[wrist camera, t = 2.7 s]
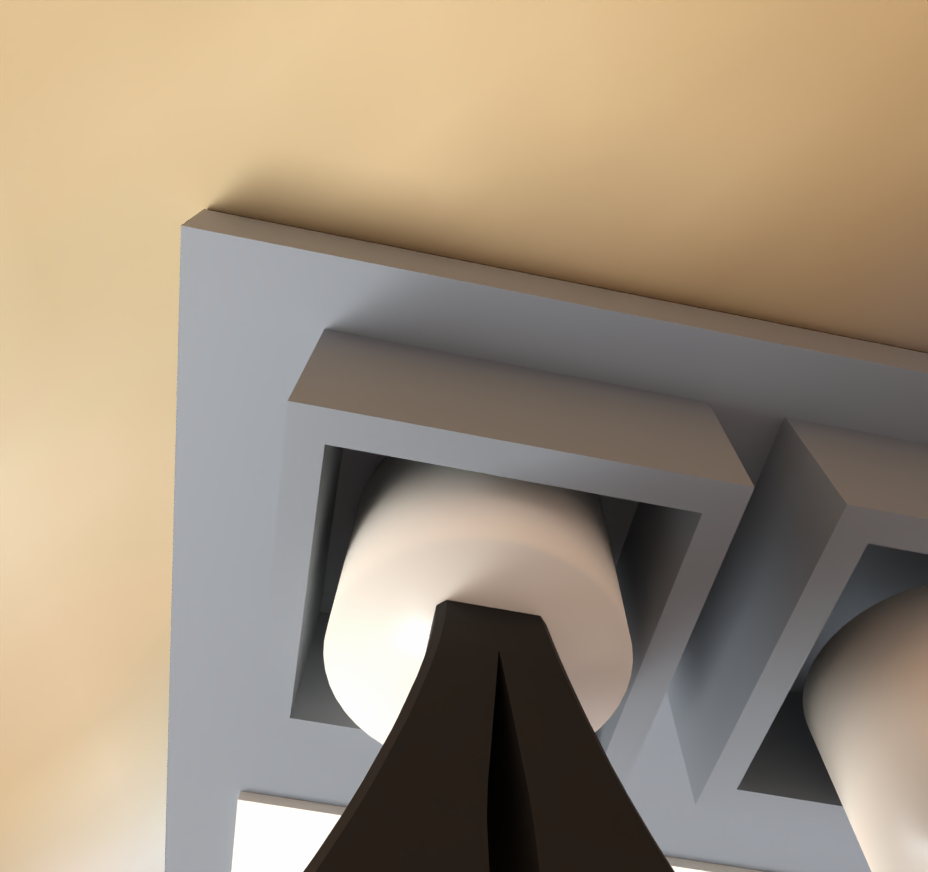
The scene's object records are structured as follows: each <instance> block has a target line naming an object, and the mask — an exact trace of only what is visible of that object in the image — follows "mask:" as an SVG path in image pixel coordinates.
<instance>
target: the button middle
mask: <svg viewBox="0 0 928 872" xmlns="http://www.w3.org/2000/svg"><path fill="white" fill-rule="evenodd" d="M803 711H804V716H805V719H806V722H807V725H808V728H809V730H810V732H811V735H812V737H813V739H814V741H815V744H816V746H817V748H818V751H819V753H820V755H821V757H822V760H823V762H824V764H825V767H826V769H827V771H828V773H829V776H830V778H831V780H832V783H833V785H834V787H835V789H836V792H837V794H838V796H839V799H840V801H841V803H842V805H843V808H844V810H845V812H846V815H847V817H848V819H849V821H850V824H851V826H852V828H853V831H854V833H855V835H856V837H857V840H858V842H859V844H860V847H861V849H862V851H863V853H864V856H865V858H866V860H867V863H868V865H869V867H870V869H871V872H928V584H926V585H922V586H919V587H915V588H912V589H909V590H906V591H904V592H901V593H898V594H896V595H893V596H891V597H889V598H887V599H885V600H883V601H881V602H879V603H877V604H875V605H873V606H872V607H870V608H868V609H867V610H865V611H863V612H862V613H860V614H859V615H857V616H856V617H855V618H853V619H852V620H851V621H849V622H848V623H847V624H845V625H844V626H843V627H842V628H841V629H840V630H839V631H838V632H837V633H836V634H835V635H834V636H833V637H831V639H830V640H829V641H828V642H827V643H826V645H825V646H824V647H823V648H822V649H821V651H820V652H819V654H818V656H817V657H816V659H815V660H814V662H813V664H812V666H811V668H810V670H809V673H808V675H807V678H806V682H805V685H804V690H803Z"/></svg>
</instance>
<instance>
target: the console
mask: <svg viewBox="0 0 928 872" xmlns="http://www.w3.org/2000/svg"><path fill="white" fill-rule="evenodd" d="M388 456H391V457H397V458H402V459H408V460H413V461H419V462H424V463H430V464H435V465H441V466H446V467H452V468H457V469H463V470H468V471H474V472H479V473H484V474H490V475H495V476H501V477H506V478H512V479H517V480H523V481H528V482H534V483H539V484H545V485H550V486H556V487H561V488H567V489H572V490H578V491H583V492H589V493H594V494H598V496H599V498H600V501H601V506H602V510H603V514H604V519H605V524H606V528H607V533H608V537H609V542H610V546H611V551H612V556H613V560H614V565H615V569H616V574H617V578H618V583H619V588H620V592H621V597H622V601H623V606H624V610H625V615H626V620H627V624H628V629H629V633H630V638H631V642H632V653H633V664H632V672H631V677H630V681H629V684H628V687H627V690H626V692H625V694H624V696H623V698H622V700H621V702H620V704H619V706H618V707H617V709H616V710H615V711H614V713H613V714H612V716H611V717H610V718H609V719H608V720H607V721H606V722H605V723H604V724H603V726H602V727H601V728H600V729H599V730H597V731H596V732H595V734H596V736H597V738H598V740H599V742H600V743H601V745H602V747H603V749H604V751H605V753H606V755H607V757H608V759H609V761H610V763H611V765H612V767H613V769H614V770H615V772H616V774H617V776H618V778H619V779H620V781H621V783H622V785H623V787H624V788H625V790H626V792H627V794H628V796H629V797H630V799H631V801H632V802H633V804H634V806H635V808H636V809H637V811H638V813H639V814H640V816H641V818H642V820H643V821H644V823H645V825H646V826H647V828H648V830H649V831H650V833H651V835H652V836H653V838H654V840H655V841H656V843H657V844H658V846H659V848H660V849H661V851H662V852H663V854H664V856H665V857H666V859H667V860H668V862H669V864H670V865H671V867H672V868H673V870H674V871H675V872H871V869H870V867H869V865H868V863H867V860H866V858H865V856H864V853H863V851H862V849H861V847H860V844H859V842H858V840H857V837H856V835H855V833H854V831H853V828H852V826H851V824H850V821H849V819H848V817H847V815H846V812H845V810H844V808H843V805H842V803H841V801H840V799H839V796H838V794H837V792H836V789H835V787H834V785H833V783H832V780H831V778H830V776H829V773H828V771H827V769H826V767H825V764H824V762H823V760H822V757H821V755H820V753H819V751H818V748H817V746H816V744H815V741H814V739H813V737H812V735H811V732H810V730H809V728H808V725H807V722H806V719H805V716H804V711H803V690H804V685H805V682H806V678H807V675H808V673H809V670H810V668H811V666H812V664H813V662H814V660H815V659H816V657H817V656H818V654H819V652H820V651H821V649H822V648H823V647H824V646H825V645H826V643H827V642H828V641H829V640H830V639H831V637H833V636H834V635H835V634H836V633H837V632H838V631H839V630H840V629H841V628H842V627H843V626H844V625H845V624H847V623H848V622H849V621H851V620H852V619H853V618H855V617H856V616H857V615H859V614H860V613H862V612H863V611H865V610H867V609H868V608H870V607H872V606H873V605H875V604H877V603H879V602H881V601H883V600H885V599H887V598H889V597H891V596H893V595H896V594H898V593H901V592H904V591H906V590H909V589H912V588H915V587H919V586H922V585H926V584H928V353H923V352H918V351H913V350H908V349H903V348H898V347H893V346H888V345H883V344H878V343H873V342H868V341H863V340H858V339H853V338H848V337H843V336H838V335H833V334H828V333H823V332H818V331H813V330H808V329H803V328H798V327H793V326H788V325H783V324H778V323H773V322H768V321H763V320H758V319H753V318H748V317H743V316H738V315H733V314H728V313H723V312H718V311H713V310H708V309H703V308H698V307H693V306H688V305H683V304H678V303H673V302H668V301H663V300H658V299H653V298H647V297H642V296H637V295H632V294H627V293H622V292H617V291H612V290H607V289H602V288H597V287H592V286H587V285H582V284H577V283H572V282H567V281H562V280H557V279H552V278H547V277H542V276H537V275H532V274H527V273H522V272H517V271H512V270H507V269H502V268H497V267H492V266H487V265H482V264H477V263H472V262H467V261H462V260H457V259H452V258H447V257H442V256H437V255H432V254H427V253H422V252H417V251H412V250H407V249H402V248H397V247H392V246H387V245H382V244H377V243H372V242H367V241H362V240H357V239H352V238H347V237H342V236H337V235H331V234H326V233H321V232H316V231H311V230H306V229H301V228H296V227H291V226H286V225H281V224H276V223H271V222H266V221H261V220H256V219H251V218H246V217H241V216H236V215H231V214H226V213H221V212H216V211H211V210H206V209H204V210H202V211H201V212H199V213H198V214H197V215H195V216H194V217H192V218H191V219H190V220H188V221H187V222H185V223H184V224H183V225H181V253H180V292H179V331H178V371H177V410H176V449H175V489H174V528H173V567H172V607H171V646H170V685H169V725H168V764H167V803H166V843H165V872H303V871H304V870H305V868H306V867H307V866H308V864H309V863H310V861H311V860H312V859H313V857H314V856H315V854H316V853H317V851H318V850H319V848H320V847H321V845H322V844H323V842H324V841H325V839H326V838H327V836H328V835H329V833H330V832H331V830H332V829H333V827H334V826H335V824H336V823H337V821H338V820H339V818H340V817H341V815H342V814H343V812H344V810H345V809H346V807H347V806H348V804H349V803H350V801H351V799H352V798H353V796H354V794H355V793H356V791H357V790H358V788H359V786H360V785H361V783H362V781H363V780H364V778H365V776H366V774H367V772H368V771H369V769H370V767H371V765H372V764H373V762H374V760H375V758H376V756H377V755H378V753H379V751H380V749H381V747H382V746H383V744H381V743H380V742H378V741H377V740H375V739H374V738H372V737H371V736H369V735H368V734H367V733H366V732H364V731H363V730H362V729H361V728H360V727H359V726H358V725H356V724H355V723H354V721H353V720H352V719H351V718H350V717H349V716H348V715H347V714H346V712H345V711H344V710H343V708H342V707H341V705H340V704H339V702H338V701H337V699H336V698H335V695H334V693H333V691H332V689H331V687H330V685H329V682H328V678H327V675H326V671H325V665H324V656H323V652H324V639H325V634H326V630H327V626H328V622H329V618H330V614H331V611H332V607H333V603H334V599H335V595H336V592H337V588H338V584H339V580H340V577H341V573H342V569H343V565H344V561H345V558H346V554H347V550H348V546H349V542H350V539H351V535H352V531H353V527H354V523H355V520H356V516H357V512H358V508H359V504H360V501H361V497H362V494H363V492H364V490H365V487H366V485H367V483H368V481H369V480H370V478H371V476H372V475H373V473H374V471H375V470H376V469H377V468H378V467H379V465H380V464H381V463H382V462H383V461H384V460H385V459H386V458H387V457H388Z"/></svg>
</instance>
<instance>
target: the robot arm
mask: <svg viewBox="0 0 928 872" xmlns="http://www.w3.org/2000/svg"><path fill="white" fill-rule="evenodd" d="M303 872H675V871H674V870H673V868H672V867H671V865H670V864H669V862H668V860H667V859H666V857H665V856H664V854H663V852H662V851H661V849H660V848H659V846H658V844H657V843H656V841H655V840H654V838H653V836H652V835H651V833H650V831H649V830H648V828H647V826H646V825H645V823H644V821H643V820H642V818H641V816H640V814H639V813H638V811H637V809H636V808H635V806H634V804H633V802H632V801H631V799H630V797H629V796H628V794H627V792H626V790H625V788H624V787H623V785H622V783H621V781H620V779H619V778H618V776H617V774H616V772H615V770H614V769H613V767H612V765H611V763H610V761H609V759H608V757H607V755H606V753H605V751H604V749H603V747H602V745H601V743H600V742H599V740H598V738H597V736H596V734H595V732H594V730H593V728H592V726H591V724H590V722H589V720H588V718H587V716H586V714H585V712H584V710H583V708H582V706H581V704H580V701H579V699H578V697H577V695H576V693H575V691H574V688H573V686H572V684H571V682H570V680H569V678H568V675H567V673H566V671H565V668H564V666H563V664H562V662H561V659H560V657H559V654H558V652H557V650H556V647H555V645H554V642H553V640H552V638H551V635H550V632H549V630H548V627H547V625H546V623H545V622H544V620H543V619H542V617H541V616H539V615H533V614H527V613H521V612H515V611H509V610H504V609H498V608H492V607H486V606H480V605H475V604H469V603H463V602H457V601H451V600H445V601H443V602H441V603H440V604H438V605H436V609H435V613H434V617H433V622H432V626H431V631H430V635H429V639H428V644H427V648H426V653H425V656H424V659H423V661H422V664H421V667H420V669H419V672H418V674H417V677H416V679H415V681H414V683H413V685H412V688H411V690H410V692H409V694H408V696H407V698H406V701H405V703H404V705H403V707H402V709H401V711H400V713H399V716H398V718H397V720H396V722H395V724H394V726H393V728H392V729H391V731H390V733H389V735H388V737H387V739H386V740H385V742H384V744H383V746H382V747H381V749H380V751H379V753H378V755H377V756H376V758H375V760H374V762H373V764H372V765H371V767H370V769H369V771H368V772H367V774H366V776H365V778H364V780H363V781H362V783H361V785H360V786H359V788H358V790H357V791H356V793H355V794H354V796H353V798H352V799H351V801H350V803H349V804H348V806H347V807H346V809H345V810H344V812H343V814H342V815H341V817H340V818H339V820H338V821H337V823H336V824H335V826H334V827H333V829H332V830H331V832H330V833H329V835H328V836H327V838H326V839H325V841H324V842H323V844H322V845H321V847H320V848H319V850H318V851H317V853H316V854H315V856H314V857H313V859H312V860H311V861H310V863H309V864H308V866H307V867H306V868H305V870H304V871H303Z"/></svg>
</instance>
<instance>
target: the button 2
mask: <svg viewBox="0 0 928 872" xmlns="http://www.w3.org/2000/svg"><path fill="white" fill-rule="evenodd" d="M445 600H451V601H457V602H463V603H469V604H475V605H480V606H486V607H492V608H498V609H504V610H509V611H515V612H521V613H527V614H533V615H539V616H541V617H542V619H543V620H544V622H545V623H546V625H547V627H548V630H549V632H550V635H551V638H552V640H553V642H554V645H555V647H556V650H557V652H558V654H559V657H560V659H561V662H562V664H563V666H564V668H565V671H566V673H567V675H568V678H569V680H570V682H571V684H572V686H573V688H574V691H575V693H576V695H577V697H578V699H579V701H580V704H581V706H582V708H583V710H584V712H585V714H586V716H587V718H588V720H589V722H590V724H591V726H592V728H593V730H594V732H596V731H597V730H599V729H600V728H601V727H602V726H603V724H604V723H605V722H606V721H607V720H608V719H609V718H610V717H611V716H612V714H613V713H614V711H615V710H616V709H617V707H618V706H619V704H620V702H621V700H622V698H623V696H624V694H625V692H626V690H627V687H628V684H629V681H630V677H631V672H632V664H633V653H632V642H631V638H630V633H629V629H628V624H627V620H626V615H625V610H624V606H623V601H622V597H621V592H620V588H619V583H618V578H617V574H616V569H615V565H614V560H613V556H612V551H611V546H610V542H609V537H608V533H607V528H606V524H605V519H604V514H603V510H602V506H601V501H600V498H599V496H598V494H594V493H589V492H583V491H578V490H572V489H567V488H561V487H556V486H550V485H545V484H539V483H534V482H528V481H523V480H517V479H512V478H506V477H501V476H495V475H490V474H484V473H479V472H474V471H468V470H463V469H457V468H452V467H446V466H441V465H435V464H430V463H424V462H419V461H413V460H408V459H402V458H397V457H391V456H388V457H387V458H386V459H385V460H384V461H383V462H382V463H381V464H380V465H379V467H378V468H377V469H376V470H375V471H374V473H373V475H372V476H371V478H370V480H369V481H368V483H367V485H366V487H365V490H364V492H363V494H362V497H361V501H360V504H359V508H358V512H357V516H356V520H355V523H354V527H353V531H352V535H351V539H350V542H349V546H348V550H347V554H346V558H345V561H344V565H343V569H342V573H341V577H340V580H339V584H338V588H337V592H336V595H335V599H334V603H333V607H332V611H331V614H330V618H329V622H328V626H327V630H326V634H325V639H324V652H323V656H324V665H325V671H326V675H327V678H328V682H329V685H330V687H331V689H332V691H333V693H334V695H335V698H336V699H337V701H338V702H339V704H340V705H341V707H342V708H343V710H344V711H345V712H346V714H347V715H348V716H349V717H350V718H351V719H352V720H353V721H354V723H355V724H356V725H358V726H359V727H360V728H361V729H362V730H363V731H364V732H366V733H367V734H368V735H369V736H371V737H372V738H374V739H375V740H377V741H378V742H380V743H381V744H384V742H385V740H386V739H387V737H388V735H389V733H390V731H391V729H392V728H393V726H394V724H395V722H396V720H397V718H398V716H399V713H400V711H401V709H402V707H403V705H404V703H405V701H406V698H407V696H408V694H409V692H410V690H411V688H412V685H413V683H414V681H415V679H416V677H417V674H418V672H419V669H420V667H421V664H422V661H423V659H424V656H425V653H426V648H427V644H428V639H429V635H430V631H431V626H432V622H433V617H434V613H435V609H436V605H438V604H440V603H441V602H443V601H445Z"/></svg>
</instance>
